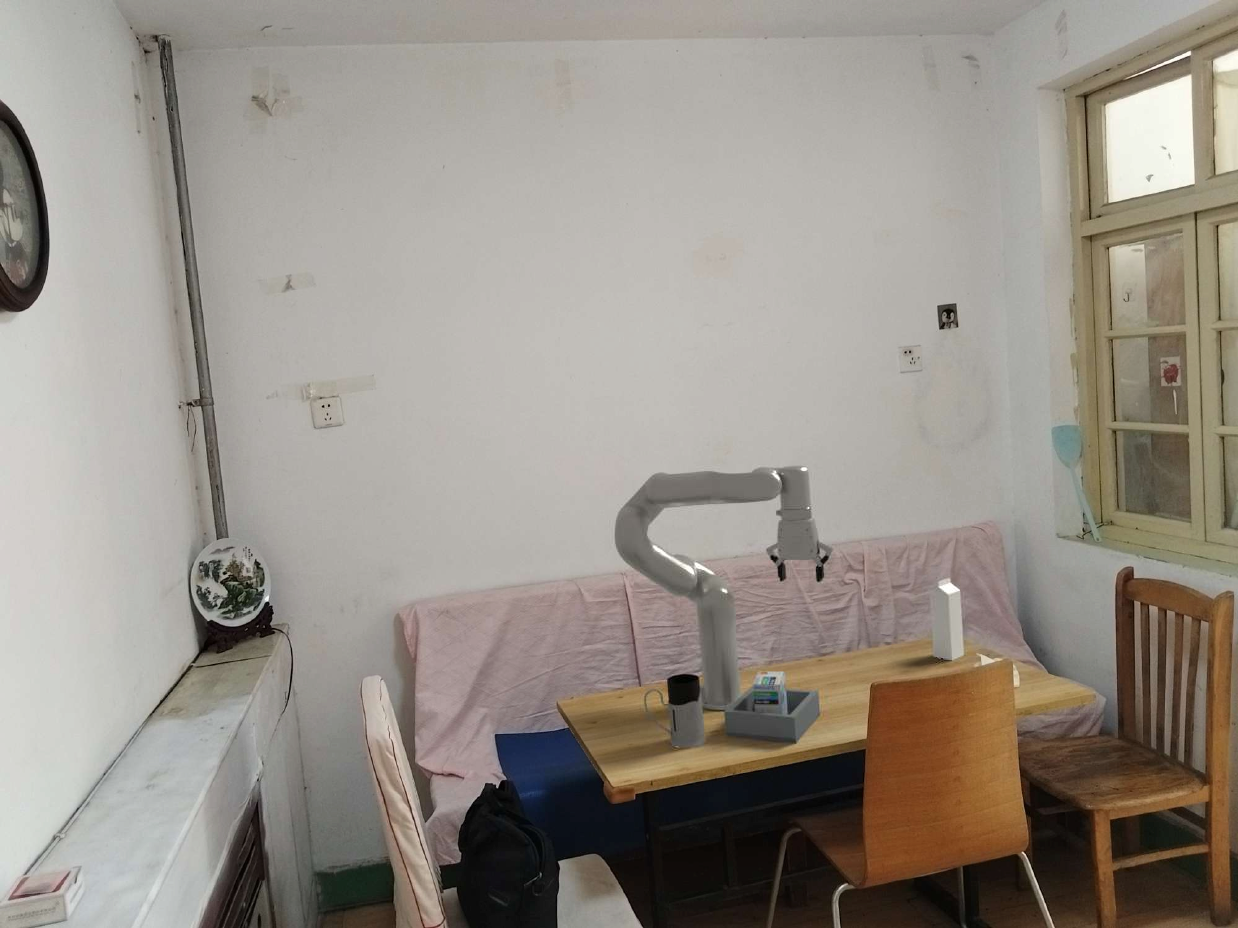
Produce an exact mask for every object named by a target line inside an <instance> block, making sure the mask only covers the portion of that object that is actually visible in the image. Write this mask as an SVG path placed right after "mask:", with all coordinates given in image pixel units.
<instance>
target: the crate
mask: <svg viewBox="0 0 1238 928" xmlns="http://www.w3.org/2000/svg"><path fill="white" fill-rule="evenodd" d="M743 693H744V694H743V695H742V696H741V697H740V698H739V699H737V700H736V701H735V702H734V703H733V704H732V705H731V706H730V707H729V708H728V709H726V710H723V711H724V713H723V714H724V723H725V725H724V727H725V736H726V737H729V738H730V737H731V738H738V739H739V738H741V739H750V740H759V741H760V740H761V741H762V740H763V741H771V742H779V741H780V743H788V744H789V743H791V744H792V743H793V744H797V743H798V742H799V740H801V738H802V737H803V735H805V733H806V732H807V731H808V730H809V728H811V726H812V725H813V724H814V722H816V720H817V719H818V718H819V717H820V715H821V712H820V710H821V709H820V697H819V690H811V689H810V690H809V689H808V690H807V689H796V688H786V697H787V710H788V715H787V714H775V713H764V712H755V705H754V693H753V685H752V686H751V687H750V688H748V689H747V690H746V691H745V692H743Z"/></svg>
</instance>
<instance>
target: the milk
mask: <svg viewBox="0 0 1238 928" xmlns="http://www.w3.org/2000/svg"><path fill="white" fill-rule="evenodd" d="M961 597H962V596H961V590H960V589H959V588H958V587H957V586H955V585H954V584H953V583H952V582H951V577H948V578H945V579H941V580H939V581H938V582H937V587H935V588H934V589H932V590H931V591H929V601H930V602H929V603H930V616H931V617H930V620H931V622H930V623H931V630H932V631H931V635H932V637H931V638H932V649H933V650H932V651H933V653H932V654H933V658H935V657H937V658H936V659H941V658H943V659H942V660H948V661H951V660H952V661H955V660H957V659H960V658H962V657H964V656H965V652H964V651H965V650H964V637H963V636H964V633H963V616H962V615H963V613H962V599H961ZM963 655H964V656H963Z"/></svg>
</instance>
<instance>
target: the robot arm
mask: <svg viewBox="0 0 1238 928" xmlns="http://www.w3.org/2000/svg"><path fill="white" fill-rule="evenodd" d="M810 487H811V486H810V473H809V469H808V468H807V467H806V466H804V465H788V466H783V467H767V466H763V467H757V468H755V469H753V470H752V471H750V472H740V473H735V472H734V473H725V472H718V471H712V470H702V471H694V472H692V471H691V472H681V473H667V472H657V473H656V472H655V473H653V474H652V475H651V476H649V478H648V479H647V480H646V481H645V482H644V483H643V484H642V485H641V487H640V488H639V489H638V490H637V491H636V492H635V493H634V494H633V496H631V498H629V500H628V501H627V502H626V503H625V504H623V506H622V507H621V508H620V509H619V511H618V513H617V515H616V519H615V526H614V544H615V547H616V550H617V552H618V555H619V557H621V559H622V561H624V563H626V565H628V566H629V567H631V569H633V570H635V571H636V572H638V573H639V574H641V575H643V576H644V577H645V578H647V579H649V580H650V581H652V582H654V583H655V584H656V585H658V586H659V587H661V588H662V589H664V590H665V591H667V592H668V593H669V594H671V595H673V596H676V597H685V598H687V599H688V600H690V601H691V602H693V603H694V604H696V612H697V621H698V623H697V625H698V639H699V647H700V649H699V650H700V659H701V661H700V662H701V674H702V684H700V688H701V698H702V709H706V710H712V711H713V710H714V711H725V710H726V709H728V708H729V707H730V706H731V705H732V704H733V703H734V702H735V701H736V700H737V699H739V698H740V697H741V696H742V695H743V694H744V693H745V692H742V691H741V677H740V666H739V665H740V664H739V653H738V651H739V650H738V642H737V640H738V639H737V625H736V624H737V623H736V603H735V597H734V594H733V592H732V590H731V588H730V586H729V584H728V582H727V581H726V580H725V579H724V578H722V577H721V576H719V574H716V573H715V572H713V571H711V570H710V569H708V568H707V567H705V566H704V565H702V564H700V563H699V562H698V561H696V560H694V559H692V558H690V557H689V556H686V555H684V554H678V553H677V554H672V553H671V552H669V551H667V550H666V549H665V548H663V547H662V546H661V545H659V544H656V543H655V542H653V541H651V539H650V538H649V536H648V531H649V526H650V525H651V523H653V522H654V520H655V519H656V518H657V517H658V516H659V515H660V514H661V513H662V512H663V511H664V510H665V509H669V508H671V509H672V508H682V507H691V506H705V505H707V506H708V505H724V504H747V503H749V504H750V503H758V502H768V501H772V500H774V499H776V498H777V497H778V496H779V497H780V509H779V510H776V511H775V514H776V516H778V517H780V520H779V521H778V524H777V534H776V535H777V536H776V538H777V539H776V543H774V544H772V545H771V546H769V547H767V548H766V549H765V552H766V553H767V555H768V557H769V559H770V560H771V561H772V562H773V563H774V564H775V566H776V567H777V569H776V570H777V577H778V578H779V582H784V581H785V580H787V571H786V570H787V569H786V564H785V563H784V562H785V561H810V560H812V561H813V562H814V564H816V566H815V579H816V582H817V583H820V582H822V581H823V579H824V578H825V569H824V565H825V564H826V562H827V561H828V560H829V559H830V558H831V555H832V553H833V551H834V549H833V547H832V546H829V545H827V544H826V543H823V542H821V541H820V539H819V533H818V528H817V523H816V520H815V518H812V503H811V502H812V501H811V491H810V490H811V488H810ZM775 550H777V555H776V553H775ZM821 550H822V551H824V552H825V553H824V555H823V557H822V556H821V555H820V554H821Z"/></svg>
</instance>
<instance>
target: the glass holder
mask: <svg viewBox="0 0 1238 928" xmlns="http://www.w3.org/2000/svg"><path fill="white" fill-rule="evenodd" d="M666 683H667V684H666V686H667V697H668V700H667V702H668V703H664V697H663V693H662V692H660V690H659V689H656V688H655V689H654V688H652V689H649V690H647V692H645V695H644V698H643V703H644V704H643V706H644V709H645V712H646V714H647V716H648V718H649V719H650V721H652V722H653V723H654V724H655V725H657V726H658V727H660V728H661V729H662V730H665V731H666V732H668V734H669V737H670V739H669V744H670V743H671V744H672V745H674V746H678V747H680V748H679V749H693V747H695V748H698V747H697V746H699V747H701V746H704V745H705V744H706V743H707V742H708V739H707V737H706V734H705V725H704V712H703V711H704V710H703V707H702V698H701V688H700V685H701V684H700V677H699V676H698V675H696V674H693V673H692V674H691V673H680V674H674V675H671V676H669V677H668V678H667V679H666ZM652 692H657V693H658V694H659V696H660V701H661V704H662V705H663V706H664V707H665V706H666V707H667V706H668V717H669V726H670V727H669V729H670V730H669V729H667V728H666V727H665V726H663V725H661V724H659V723H658V722H657V721H656V720H654V718H653V717H652V715H651V714H650V712H649V709H648V706H647V697H648V695H649V694H650V693H652ZM706 741H707V742H706ZM704 743H705V744H704ZM672 745H671V746H672ZM674 746H673V747H674Z"/></svg>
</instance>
